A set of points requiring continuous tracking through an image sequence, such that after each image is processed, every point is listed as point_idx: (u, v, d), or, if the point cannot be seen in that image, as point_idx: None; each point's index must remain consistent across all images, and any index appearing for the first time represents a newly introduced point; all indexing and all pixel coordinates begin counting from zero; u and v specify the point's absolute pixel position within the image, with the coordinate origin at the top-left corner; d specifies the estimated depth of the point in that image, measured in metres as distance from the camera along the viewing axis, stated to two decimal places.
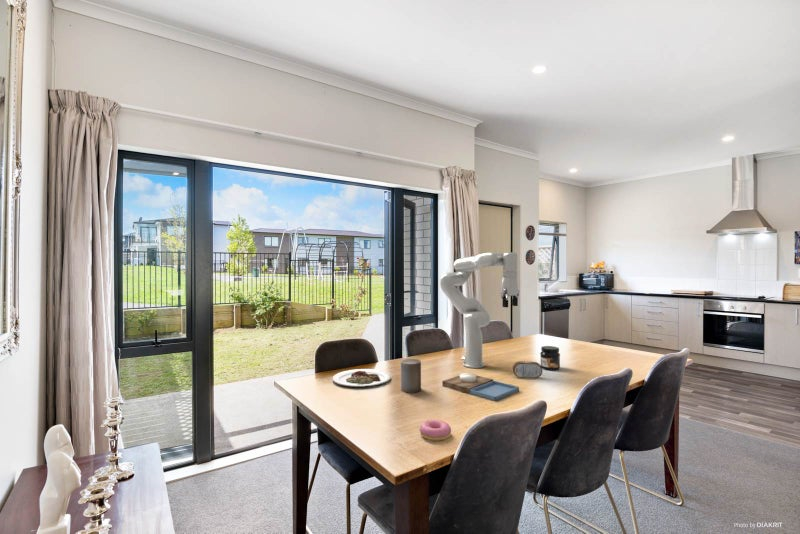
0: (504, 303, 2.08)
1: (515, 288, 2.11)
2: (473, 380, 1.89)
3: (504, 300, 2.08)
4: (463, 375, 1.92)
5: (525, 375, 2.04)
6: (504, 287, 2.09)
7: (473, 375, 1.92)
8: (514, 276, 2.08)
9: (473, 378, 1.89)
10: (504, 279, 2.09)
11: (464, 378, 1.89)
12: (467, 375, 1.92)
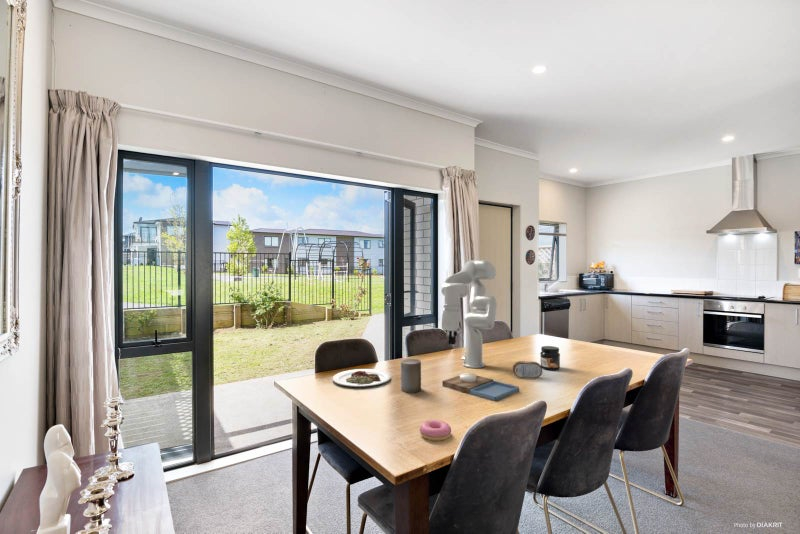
0: (454, 340, 1.98)
1: None
2: (473, 380, 1.89)
3: (454, 337, 1.98)
4: (463, 375, 1.92)
5: (525, 375, 2.04)
6: (458, 324, 1.96)
7: (473, 375, 1.92)
8: None
9: (473, 378, 1.89)
10: (458, 313, 1.96)
11: (464, 378, 1.89)
12: (467, 375, 1.92)
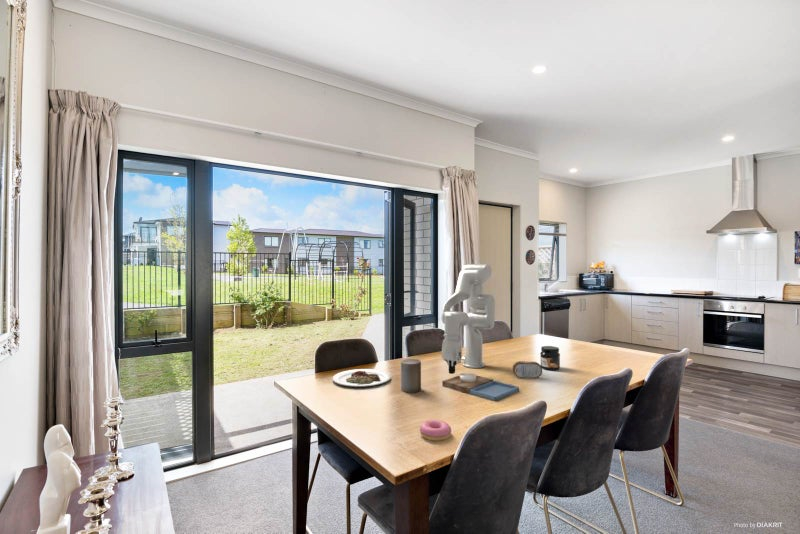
0: (454, 369, 1.98)
1: None
2: (473, 380, 1.89)
3: (454, 366, 1.98)
4: (463, 375, 1.92)
5: (525, 375, 2.04)
6: (458, 354, 1.96)
7: (473, 375, 1.92)
8: None
9: (473, 378, 1.89)
10: (458, 343, 1.96)
11: (464, 378, 1.89)
12: (467, 375, 1.92)
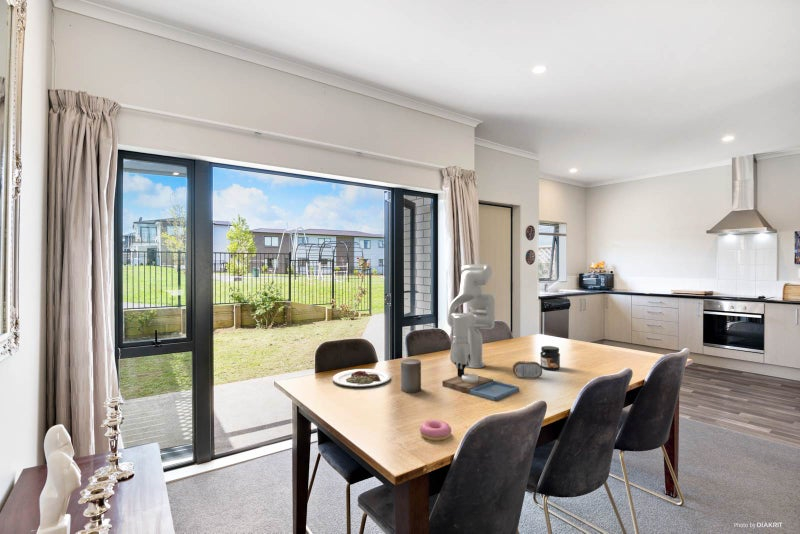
0: (463, 372, 1.94)
1: None
2: (475, 381, 1.88)
3: (463, 369, 1.94)
4: (465, 376, 1.91)
5: (525, 375, 2.04)
6: (467, 357, 1.92)
7: (475, 376, 1.91)
8: None
9: (475, 379, 1.88)
10: (467, 345, 1.91)
11: (466, 378, 1.88)
12: (469, 376, 1.91)
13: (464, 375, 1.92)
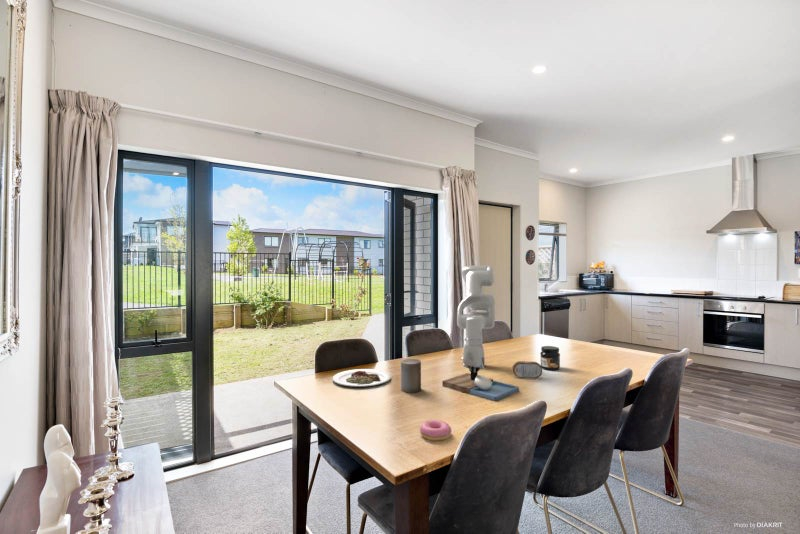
0: None
1: None
2: (487, 388, 1.82)
3: (476, 372, 1.88)
4: (479, 379, 1.85)
5: (525, 375, 2.04)
6: (481, 359, 1.86)
7: (489, 382, 1.84)
8: None
9: (488, 386, 1.82)
10: (481, 348, 1.86)
11: (480, 383, 1.82)
12: (483, 380, 1.85)
13: (478, 378, 1.86)
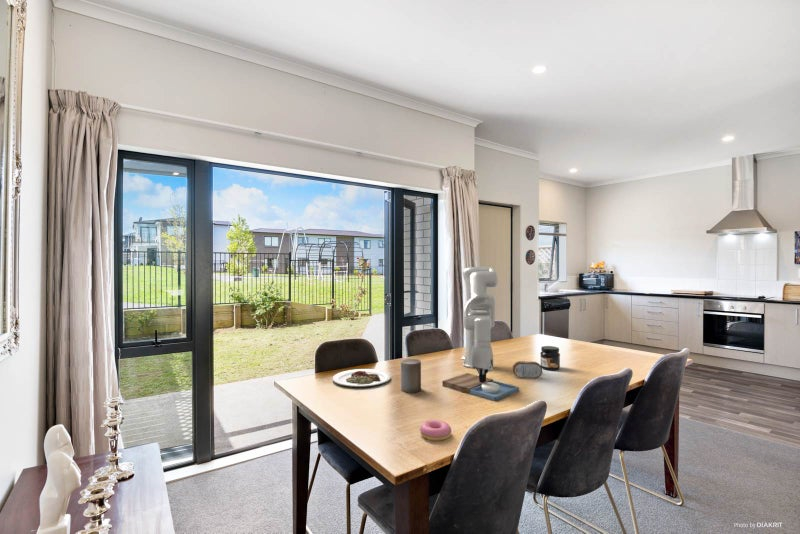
0: (485, 378, 1.85)
1: None
2: (496, 391, 1.79)
3: (485, 374, 1.85)
4: (485, 385, 1.82)
5: (525, 375, 2.04)
6: (490, 361, 1.82)
7: (496, 385, 1.82)
8: None
9: (496, 388, 1.79)
10: (489, 350, 1.82)
11: (486, 388, 1.79)
12: (489, 385, 1.82)
13: (484, 384, 1.83)
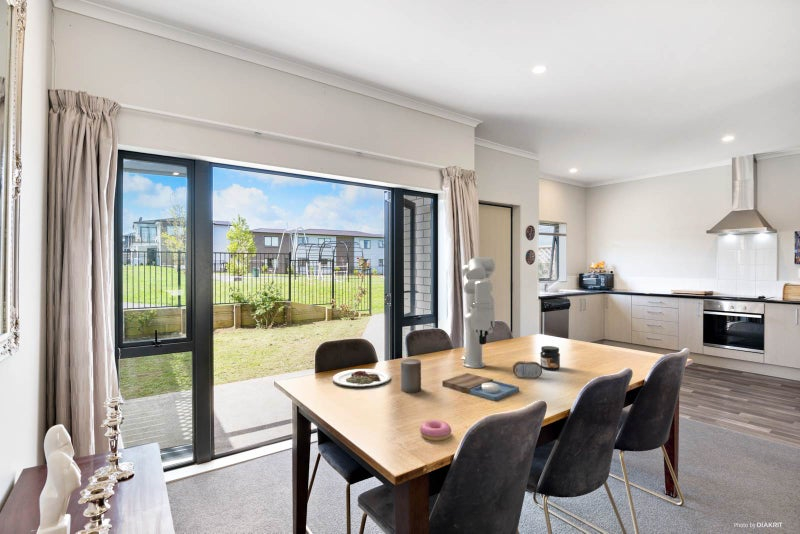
0: (485, 340, 1.87)
1: None
2: (495, 390, 1.79)
3: (485, 336, 1.87)
4: (485, 385, 1.82)
5: (525, 375, 2.04)
6: (490, 323, 1.84)
7: (496, 385, 1.82)
8: None
9: (495, 388, 1.79)
10: (490, 311, 1.84)
11: (486, 388, 1.79)
12: (489, 385, 1.82)
13: (484, 384, 1.83)
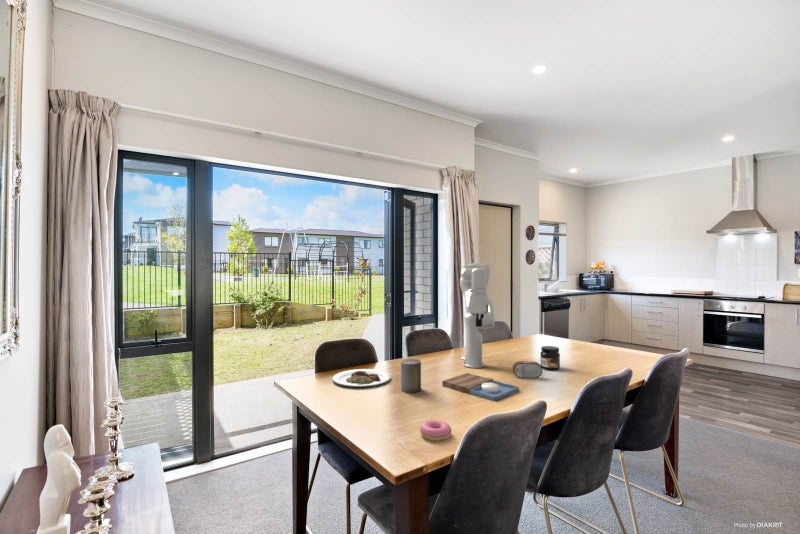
0: (481, 322, 2.04)
1: None
2: (495, 391, 1.79)
3: (481, 319, 2.04)
4: (485, 385, 1.82)
5: (525, 375, 2.04)
6: (486, 307, 2.02)
7: (496, 385, 1.82)
8: None
9: (495, 388, 1.79)
10: (485, 296, 2.01)
11: (486, 388, 1.79)
12: (489, 385, 1.82)
13: (484, 384, 1.83)
